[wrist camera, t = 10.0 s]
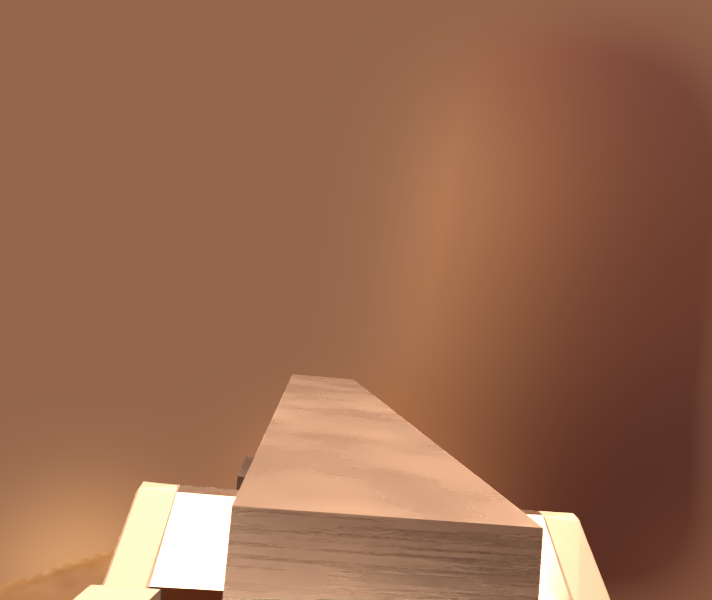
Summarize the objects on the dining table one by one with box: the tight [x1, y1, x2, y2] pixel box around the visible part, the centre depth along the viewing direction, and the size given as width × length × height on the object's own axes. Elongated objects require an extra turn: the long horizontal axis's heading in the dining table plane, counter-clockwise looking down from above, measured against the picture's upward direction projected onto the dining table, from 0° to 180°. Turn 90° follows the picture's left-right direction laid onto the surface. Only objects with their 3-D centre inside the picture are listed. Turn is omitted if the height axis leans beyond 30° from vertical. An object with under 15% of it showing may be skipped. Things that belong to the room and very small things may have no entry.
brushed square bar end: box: [222, 375, 543, 600], centre depth 19 cm, size 26×3×3 cm, turn 4°
